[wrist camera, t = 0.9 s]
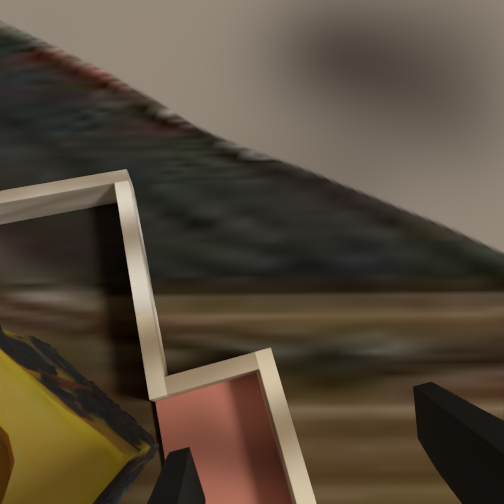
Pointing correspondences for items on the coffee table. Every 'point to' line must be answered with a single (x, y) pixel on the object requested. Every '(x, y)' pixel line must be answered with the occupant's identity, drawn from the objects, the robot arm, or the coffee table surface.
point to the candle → (62, 431)
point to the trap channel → (192, 371)
